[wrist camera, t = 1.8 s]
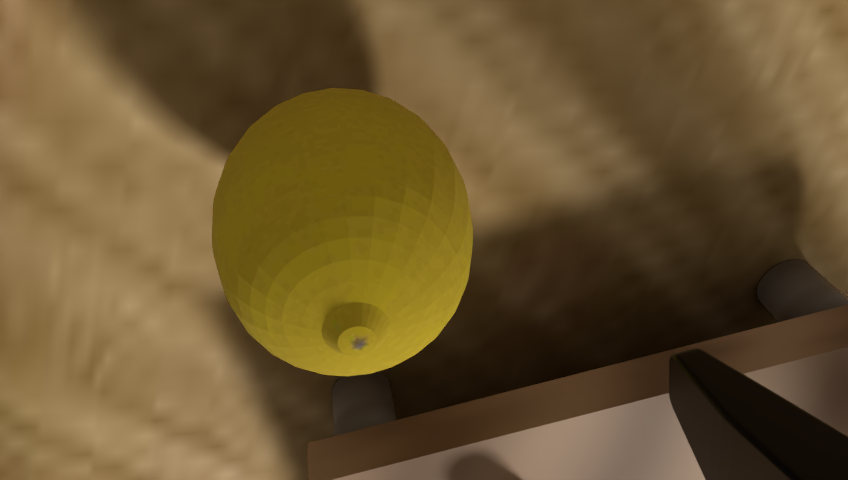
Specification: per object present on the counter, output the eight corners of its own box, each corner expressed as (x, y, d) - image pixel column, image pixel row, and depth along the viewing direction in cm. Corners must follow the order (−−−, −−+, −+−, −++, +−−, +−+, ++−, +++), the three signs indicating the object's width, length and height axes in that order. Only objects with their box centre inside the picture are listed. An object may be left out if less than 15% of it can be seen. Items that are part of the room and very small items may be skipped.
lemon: (349, 265, 21) (375, 490, 14) (185, 160, 18) (121, 374, 11) (478, 132, 19) (578, 315, 12) (318, -5, 16) (333, 133, 10)
